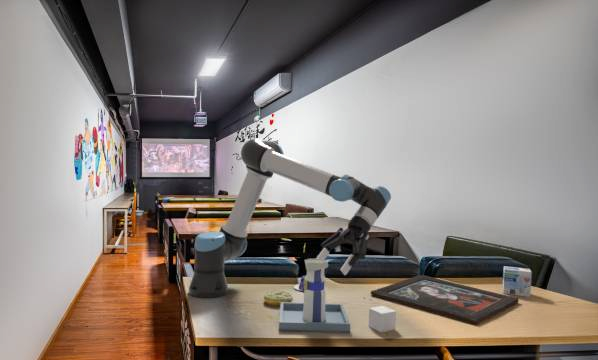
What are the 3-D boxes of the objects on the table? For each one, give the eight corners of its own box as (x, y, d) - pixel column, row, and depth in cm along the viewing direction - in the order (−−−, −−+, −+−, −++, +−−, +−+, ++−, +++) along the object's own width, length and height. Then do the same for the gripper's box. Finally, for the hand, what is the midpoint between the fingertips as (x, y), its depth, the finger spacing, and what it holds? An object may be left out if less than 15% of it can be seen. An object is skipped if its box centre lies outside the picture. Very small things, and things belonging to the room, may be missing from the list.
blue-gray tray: (278, 330, 130) (279, 322, 130) (280, 309, 150) (280, 302, 150) (350, 332, 130) (350, 324, 130) (342, 311, 150) (342, 303, 150)
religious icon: (417, 279, 200) (417, 273, 200) (519, 304, 168) (519, 297, 168) (367, 295, 172) (367, 288, 172) (477, 329, 140) (478, 320, 140)
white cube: (381, 332, 131) (381, 313, 131) (368, 326, 137) (369, 308, 136) (395, 329, 135) (396, 311, 134) (382, 323, 140) (383, 305, 140)
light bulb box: (502, 293, 181) (504, 268, 181) (501, 289, 187) (502, 265, 187) (531, 297, 177) (532, 271, 177) (529, 293, 183) (530, 268, 183)
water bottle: (304, 323, 135) (307, 246, 134) (298, 314, 143) (301, 241, 143) (329, 322, 137) (332, 245, 136) (322, 313, 145) (324, 241, 144)
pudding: (312, 284, 186) (313, 272, 186) (327, 291, 176) (328, 278, 176) (288, 287, 180) (289, 274, 180) (302, 294, 170) (303, 281, 170)
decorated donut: (298, 303, 158) (298, 293, 158) (277, 309, 150) (277, 298, 150) (279, 297, 165) (279, 287, 165) (258, 302, 158) (258, 292, 158)
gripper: (393, 233, 143) (360, 283, 135) (343, 224, 163) (312, 267, 154) (383, 218, 140) (349, 268, 131) (333, 211, 160) (301, 254, 151)
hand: (329, 268), depth 143 cm, fingers open, 13 cm apart
